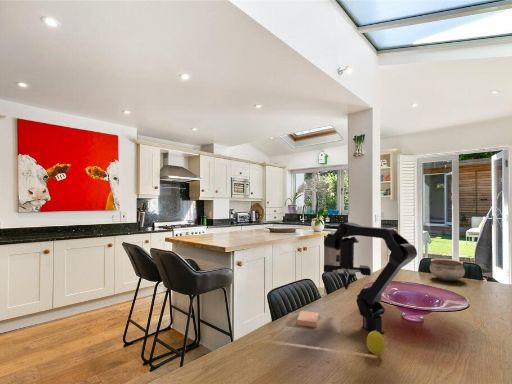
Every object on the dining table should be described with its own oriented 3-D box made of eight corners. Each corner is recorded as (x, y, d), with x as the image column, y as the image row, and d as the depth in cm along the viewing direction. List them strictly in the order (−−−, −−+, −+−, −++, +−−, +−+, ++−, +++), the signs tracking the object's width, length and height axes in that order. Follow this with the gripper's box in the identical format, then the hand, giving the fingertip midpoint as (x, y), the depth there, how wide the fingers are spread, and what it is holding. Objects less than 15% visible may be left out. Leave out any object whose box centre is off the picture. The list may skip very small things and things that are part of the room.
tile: (318, 312, 124) (300, 310, 126) (316, 322, 114) (297, 319, 116) (318, 317, 124) (300, 315, 126) (316, 327, 114) (297, 325, 116)
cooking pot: (445, 286, 174) (444, 265, 175) (419, 278, 192) (419, 259, 193) (476, 282, 181) (475, 263, 182) (448, 275, 200) (448, 257, 200)
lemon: (369, 349, 99) (369, 325, 99) (387, 355, 95) (386, 330, 96) (364, 356, 94) (363, 331, 95) (382, 362, 91) (381, 336, 91)
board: (340, 320, 123) (340, 318, 123) (340, 334, 110) (340, 332, 110) (289, 314, 129) (289, 312, 129) (282, 327, 116) (282, 325, 116)
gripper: (368, 250, 129) (367, 285, 129) (324, 247, 134) (324, 281, 134) (371, 255, 118) (370, 293, 118) (323, 252, 123) (323, 289, 123)
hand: (346, 289), depth 123 cm, fingers closed
